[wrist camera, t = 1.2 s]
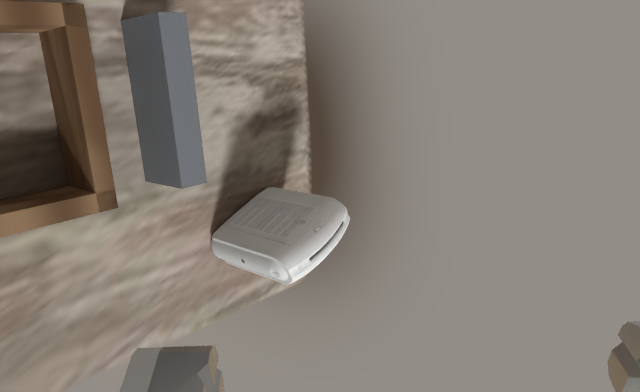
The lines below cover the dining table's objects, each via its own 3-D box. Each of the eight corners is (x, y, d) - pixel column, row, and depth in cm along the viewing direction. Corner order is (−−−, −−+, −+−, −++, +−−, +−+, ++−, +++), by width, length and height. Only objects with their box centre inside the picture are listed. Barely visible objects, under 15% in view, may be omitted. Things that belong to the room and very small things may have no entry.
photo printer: (220, 268, 54) (303, 297, 46) (202, 237, 52) (286, 262, 43) (281, 210, 59) (365, 227, 51) (268, 180, 57) (352, 193, 49)
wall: (145, 181, 46) (181, 188, 42) (121, 20, 43) (157, 11, 39) (169, 175, 48) (206, 182, 44) (147, 21, 44) (185, 12, 40)
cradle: (-26, 226, 37) (-5, 238, 33) (-80, 8, 33) (-62, -3, 30) (90, 199, 43) (118, 207, 39) (56, 12, 39) (83, 3, 36)
